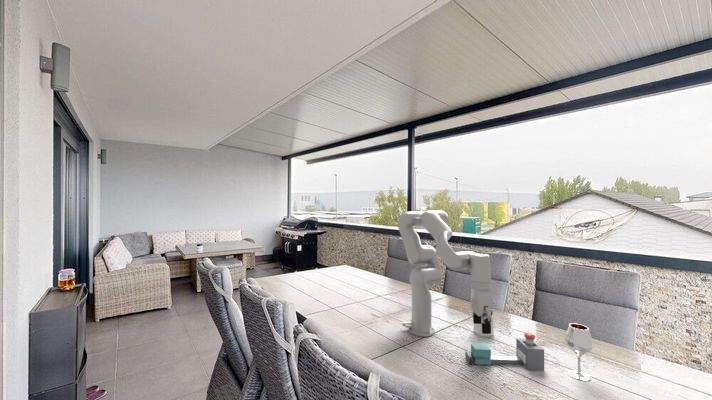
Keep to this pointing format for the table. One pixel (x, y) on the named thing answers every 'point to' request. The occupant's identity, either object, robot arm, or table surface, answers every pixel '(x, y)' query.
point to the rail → (497, 360)
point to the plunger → (529, 339)
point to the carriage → (481, 353)
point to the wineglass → (579, 346)
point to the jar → (479, 327)
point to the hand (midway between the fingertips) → (481, 328)
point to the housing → (530, 354)
